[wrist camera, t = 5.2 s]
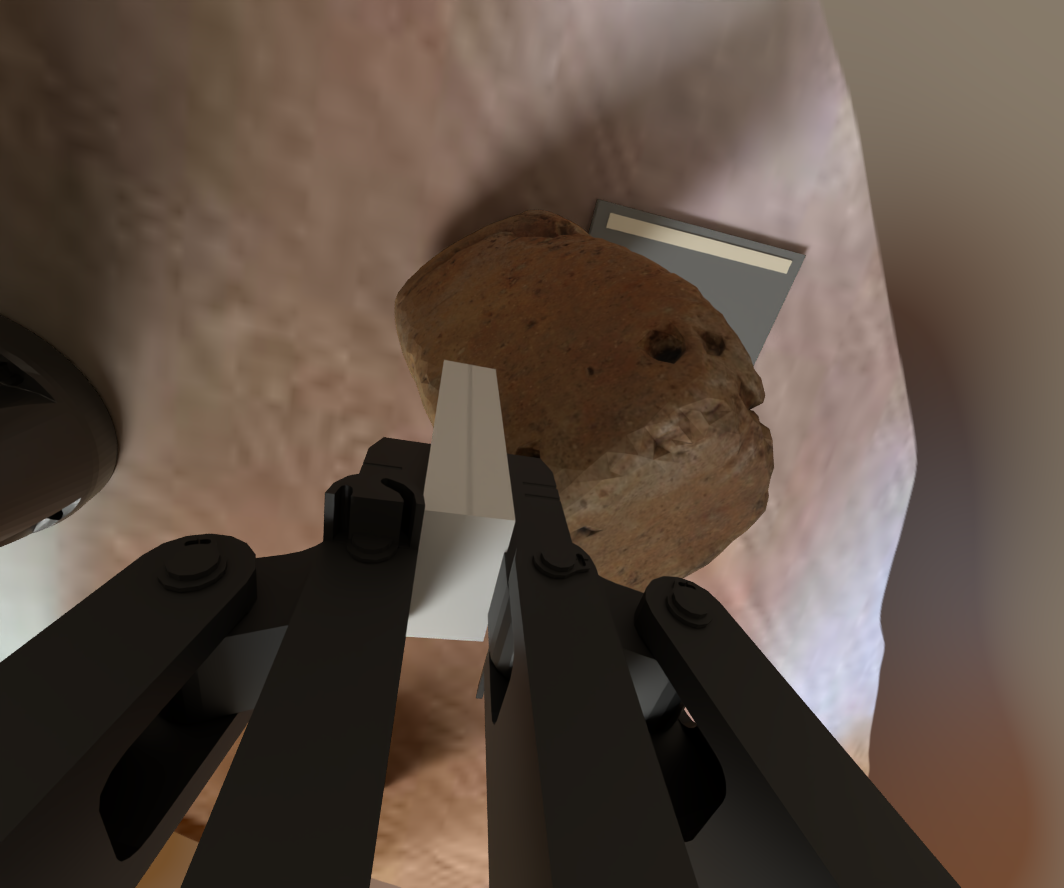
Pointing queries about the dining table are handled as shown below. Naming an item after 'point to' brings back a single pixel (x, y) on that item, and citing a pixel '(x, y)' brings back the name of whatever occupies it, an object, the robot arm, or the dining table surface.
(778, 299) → the mat
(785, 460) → the dining table surface
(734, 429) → the brown lumpy pitted part
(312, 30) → the dining table surface
